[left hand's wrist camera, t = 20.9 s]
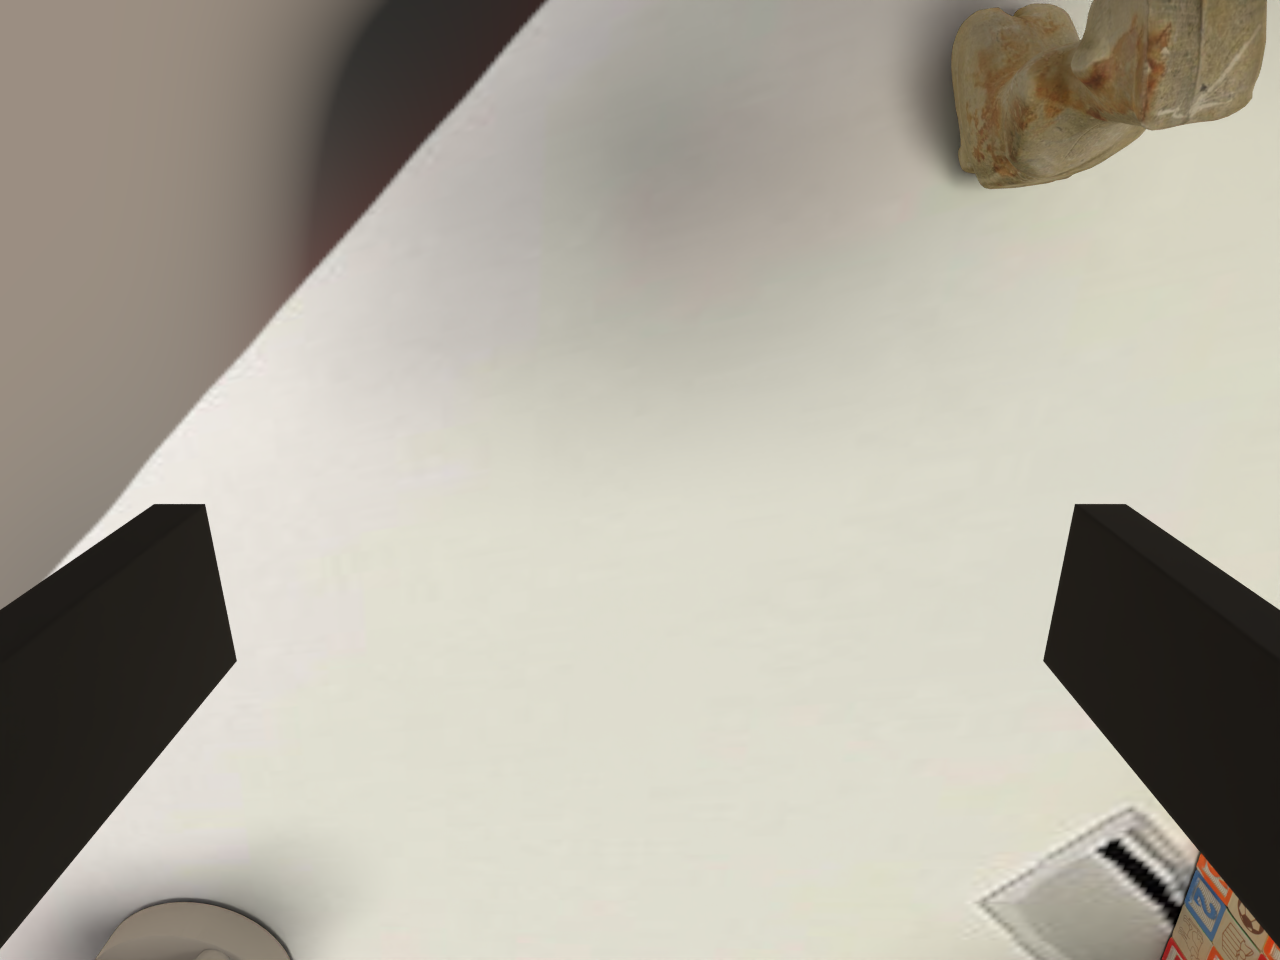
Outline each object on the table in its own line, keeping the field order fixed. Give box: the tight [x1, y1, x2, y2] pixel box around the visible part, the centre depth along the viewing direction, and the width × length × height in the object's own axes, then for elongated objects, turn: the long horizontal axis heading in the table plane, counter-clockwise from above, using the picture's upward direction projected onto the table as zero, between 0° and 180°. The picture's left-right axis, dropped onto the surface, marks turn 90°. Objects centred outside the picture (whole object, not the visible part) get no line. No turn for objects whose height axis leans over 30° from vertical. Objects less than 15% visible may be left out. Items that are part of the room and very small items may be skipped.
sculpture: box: [951, 0, 1267, 189], centre depth 30 cm, size 6×7×15 cm
